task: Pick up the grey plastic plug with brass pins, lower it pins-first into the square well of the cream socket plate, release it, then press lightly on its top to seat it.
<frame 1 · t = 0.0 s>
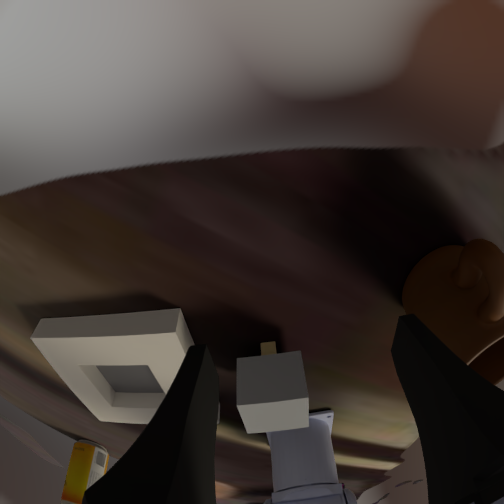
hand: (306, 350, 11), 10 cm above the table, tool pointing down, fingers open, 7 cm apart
plug: (270, 358, 27), on the table
mug: (436, 258, 22), on the table
yellow supplement bottle: (92, 445, 41), on the table
socket: (132, 367, 28), on the table
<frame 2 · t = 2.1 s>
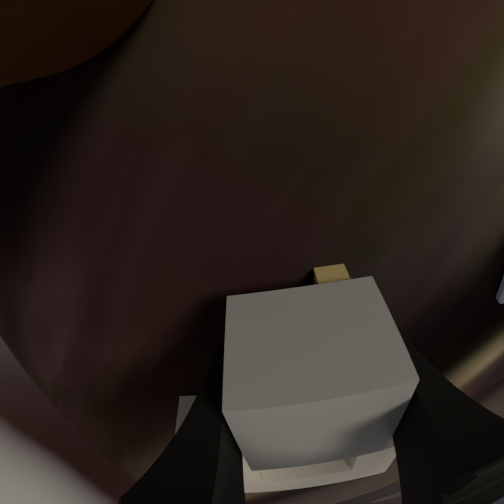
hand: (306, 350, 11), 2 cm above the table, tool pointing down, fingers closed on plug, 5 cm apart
plug: (298, 308, 13), on the table, touching gripper
mug: (24, 13, 7), on the table
socket: (304, 435, 20), on the table
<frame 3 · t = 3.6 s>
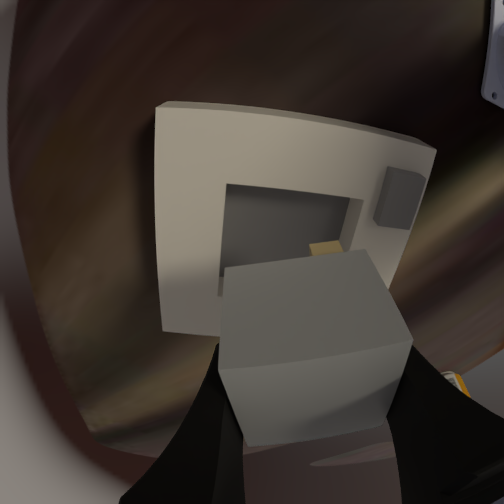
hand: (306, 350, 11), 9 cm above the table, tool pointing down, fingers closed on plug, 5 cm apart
plug: (294, 285, 14), point 6 cm above the table, touching gripper
socket: (281, 228, 19), on the table
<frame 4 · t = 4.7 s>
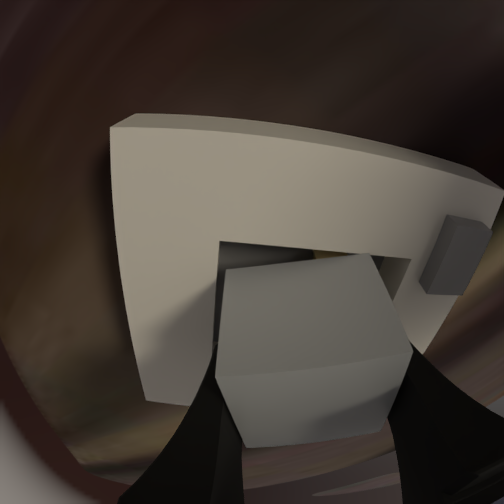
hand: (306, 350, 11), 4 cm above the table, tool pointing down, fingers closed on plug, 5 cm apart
plug: (297, 286, 14), point 1 cm above the table, touching gripper, socket
socket: (294, 285, 15), on the table
when the fingers open (4 cm above the table, at t = 5.2 s): plug stays where it is, resting on socket.
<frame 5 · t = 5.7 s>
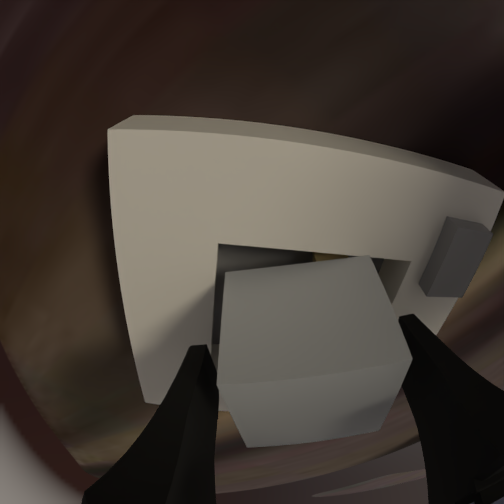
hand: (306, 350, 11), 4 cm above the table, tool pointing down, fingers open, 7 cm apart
plug: (297, 286, 14), point 1 cm above the table, touching socket
socket: (294, 287, 15), on the table
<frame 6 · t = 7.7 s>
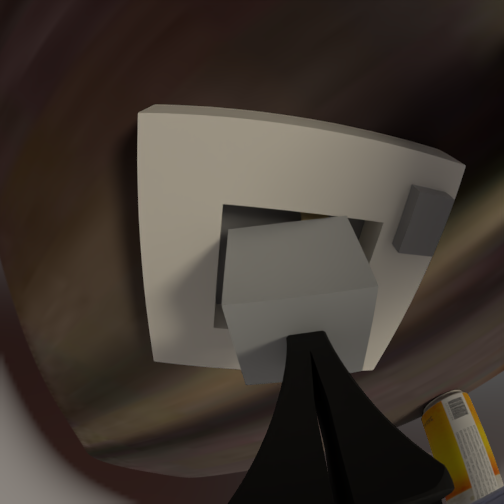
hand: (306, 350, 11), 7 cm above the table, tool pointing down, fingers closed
plug: (288, 248, 16), point 1 cm above the table, touching gripper, socket
yellow supplement bottle: (442, 401, 29), on the table
socket: (286, 251, 17), on the table
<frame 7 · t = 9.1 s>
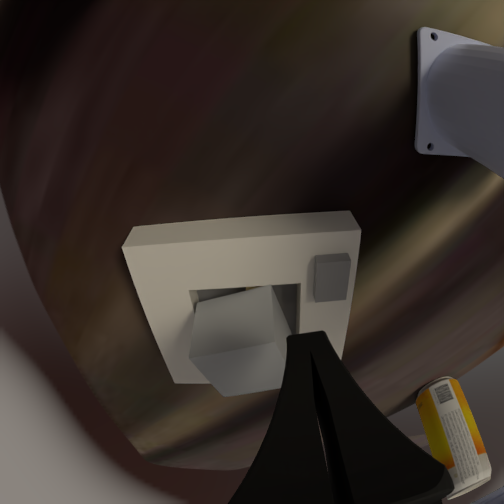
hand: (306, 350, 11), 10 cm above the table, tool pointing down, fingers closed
plug: (246, 301, 23), point 1 cm above the table, touching socket
yellow supplement bottle: (434, 386, 33), on the table
socket: (248, 301, 24), on the table
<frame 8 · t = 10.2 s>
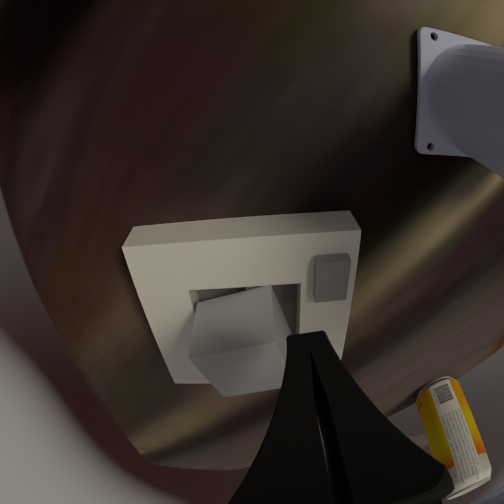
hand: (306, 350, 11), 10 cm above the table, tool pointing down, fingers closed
plug: (246, 301, 23), point 1 cm above the table, touching socket
yellow supplement bottle: (434, 386, 33), on the table
socket: (248, 301, 24), on the table
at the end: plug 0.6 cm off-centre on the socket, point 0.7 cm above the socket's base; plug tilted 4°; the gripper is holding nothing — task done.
